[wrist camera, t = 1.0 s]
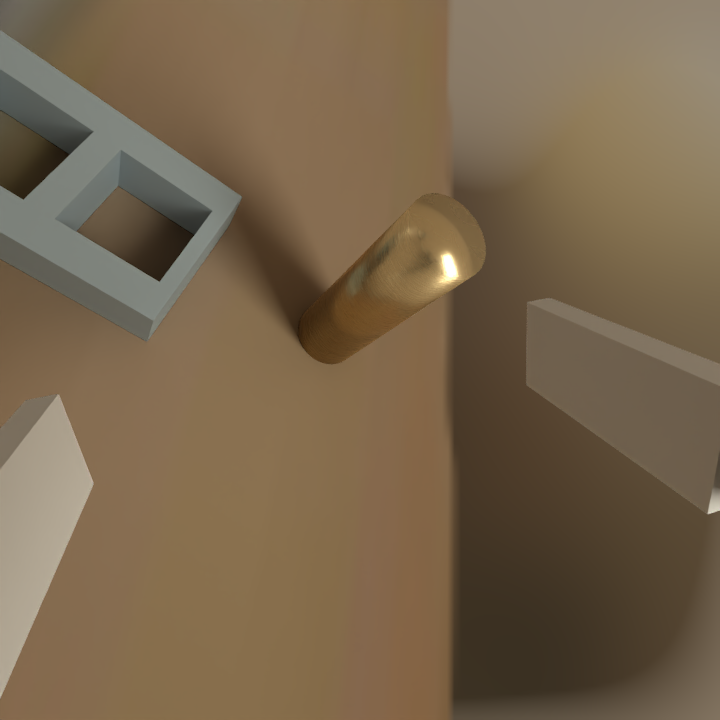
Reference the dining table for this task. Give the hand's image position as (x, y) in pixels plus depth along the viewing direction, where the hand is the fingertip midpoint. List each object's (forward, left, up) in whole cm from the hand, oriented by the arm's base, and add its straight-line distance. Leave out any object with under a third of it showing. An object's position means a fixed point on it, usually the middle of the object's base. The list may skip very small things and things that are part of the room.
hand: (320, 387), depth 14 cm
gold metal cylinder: (+3, +11, -17) cm, 21 cm away
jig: (-14, +9, -17) cm, 24 cm away
